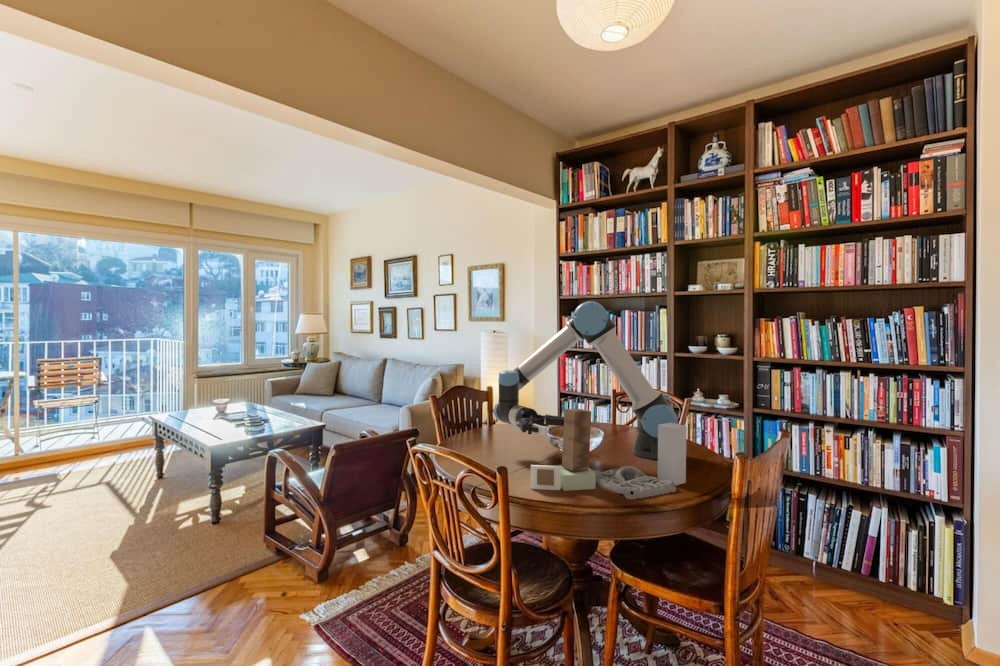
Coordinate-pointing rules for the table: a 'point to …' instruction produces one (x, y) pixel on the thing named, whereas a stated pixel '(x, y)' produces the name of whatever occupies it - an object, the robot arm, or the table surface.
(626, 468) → the wall plaque
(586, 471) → the sage base block
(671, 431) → the grey plastic block
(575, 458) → the walnut block
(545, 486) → the card
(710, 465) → the table surface
